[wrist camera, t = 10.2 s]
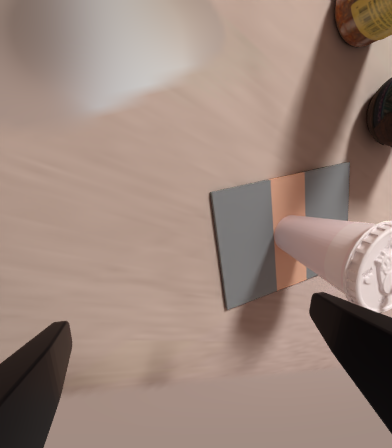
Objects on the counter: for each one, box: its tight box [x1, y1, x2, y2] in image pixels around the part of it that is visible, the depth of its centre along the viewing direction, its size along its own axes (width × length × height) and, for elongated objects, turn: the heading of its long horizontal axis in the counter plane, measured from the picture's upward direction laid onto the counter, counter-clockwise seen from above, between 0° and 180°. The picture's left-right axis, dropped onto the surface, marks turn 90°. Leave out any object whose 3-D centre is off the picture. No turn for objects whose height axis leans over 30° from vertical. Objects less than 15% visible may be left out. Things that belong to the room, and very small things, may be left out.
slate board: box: [210, 162, 350, 310], centre depth 25 cm, size 16×12×1 cm
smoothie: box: [274, 215, 392, 313], centre depth 18 cm, size 6×6×14 cm
